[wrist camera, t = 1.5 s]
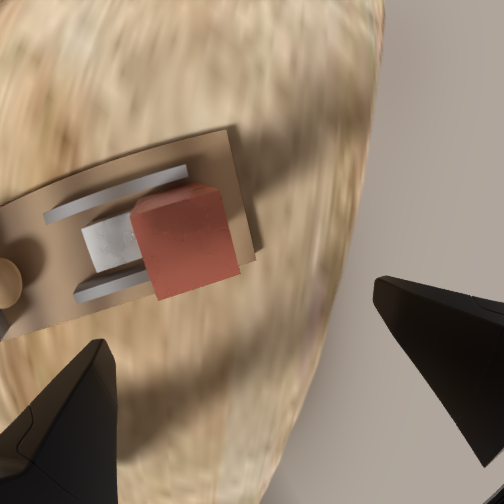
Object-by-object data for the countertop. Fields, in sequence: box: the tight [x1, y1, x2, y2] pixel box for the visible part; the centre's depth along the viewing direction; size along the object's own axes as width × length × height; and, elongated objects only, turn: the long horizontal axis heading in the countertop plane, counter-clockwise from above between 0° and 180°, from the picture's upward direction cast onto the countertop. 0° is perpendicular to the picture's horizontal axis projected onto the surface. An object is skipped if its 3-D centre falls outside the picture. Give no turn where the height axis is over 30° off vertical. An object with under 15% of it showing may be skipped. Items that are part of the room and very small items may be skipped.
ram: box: [81, 181, 241, 301], centre depth 16 cm, size 8×4×8 cm, turn 103°
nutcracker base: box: [0, 130, 256, 342], centre depth 18 cm, size 24×10×5 cm, turn 103°
